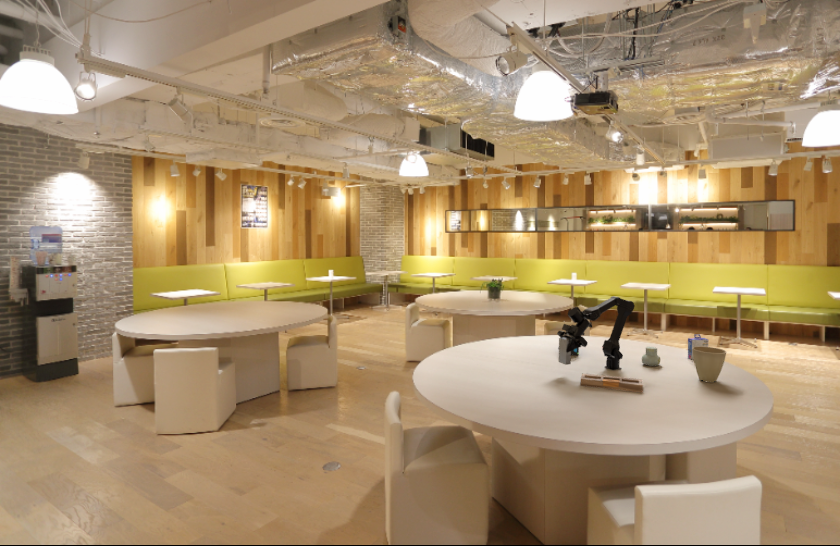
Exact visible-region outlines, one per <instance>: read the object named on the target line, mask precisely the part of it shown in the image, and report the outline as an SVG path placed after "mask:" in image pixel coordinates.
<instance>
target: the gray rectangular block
mask: <svg viewBox="0 0 840 546" xmlns="http://www.w3.org/2000/svg"><path fill="white" fill-rule="evenodd" d="M570 344H571V340H570V339H567V338H560V337H558V348H559V349H558V363H561V364H562V365H565V366H566V365H571V362H572V361H571V359H572V355H571V351H570V352H568V353H567V352H566V350H567V348H568V347H569V346H570Z"/></svg>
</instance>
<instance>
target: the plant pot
mask: <svg viewBox="0 0 840 546" xmlns="http://www.w3.org/2000/svg"><path fill="white" fill-rule="evenodd" d="M726 356H727V350H725V349H722V348H717V347H712V346H708V347H702V346H698V347H693V357H694V360H693V361H694V366H695V367H694V368H695V370H696V374H697V376H698V379H699V380H700V381H701V380H703V381H702V382H704V381H707V383H715V382H714V381H716V382H717V381H718V378H719V376H720V374H721V372H722V370H723V366H724V364H725V360H726Z"/></svg>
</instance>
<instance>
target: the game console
mask: <svg viewBox="0 0 840 546" xmlns="http://www.w3.org/2000/svg"><path fill="white" fill-rule="evenodd" d="M565 332H566V334H567V331H565ZM567 335H569V334H567ZM571 342H572V340H571ZM579 351H580V347H579V348H576V349H574V350H572V351H571V356H580V355H579V354H580V353H579Z"/></svg>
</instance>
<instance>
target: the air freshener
mask: <svg viewBox="0 0 840 546" xmlns="http://www.w3.org/2000/svg"><path fill="white" fill-rule="evenodd" d="M641 362H642V364H644V365H645V366H649V367H656V366H659V365H660V363H661V357H660V355H658V347H655V346H646V347H645V354H643V355H642V358H641Z"/></svg>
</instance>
